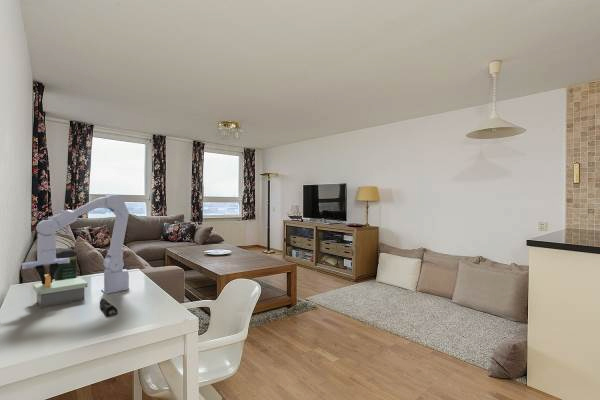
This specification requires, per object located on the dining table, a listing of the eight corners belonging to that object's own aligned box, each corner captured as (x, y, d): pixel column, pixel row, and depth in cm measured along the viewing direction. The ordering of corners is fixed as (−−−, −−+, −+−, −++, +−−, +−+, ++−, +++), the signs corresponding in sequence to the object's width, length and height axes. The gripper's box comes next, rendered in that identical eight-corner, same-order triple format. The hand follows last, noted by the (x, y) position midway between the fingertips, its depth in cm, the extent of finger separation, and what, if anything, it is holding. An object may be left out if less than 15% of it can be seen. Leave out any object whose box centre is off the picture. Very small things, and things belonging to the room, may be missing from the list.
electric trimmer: (108, 304, 121) (108, 296, 121) (118, 314, 110) (118, 306, 110) (97, 306, 119) (97, 298, 119) (106, 317, 107) (106, 309, 107)
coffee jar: (78, 288, 140) (78, 249, 140) (57, 292, 134) (56, 251, 134) (73, 284, 147) (73, 246, 146) (53, 287, 141) (53, 248, 140)
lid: (80, 281, 134) (80, 268, 134) (87, 286, 126) (87, 273, 126) (33, 288, 122) (33, 274, 122) (37, 295, 114) (38, 279, 114)
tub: (78, 293, 133) (78, 282, 132) (84, 298, 126) (84, 287, 126) (36, 301, 122) (36, 289, 122) (40, 308, 115) (40, 295, 115)
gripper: (66, 246, 128) (67, 277, 129) (21, 251, 118) (21, 285, 118) (70, 248, 124) (70, 281, 124) (23, 253, 113) (23, 289, 113)
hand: (47, 283), depth 121 cm, fingers closed on lid
